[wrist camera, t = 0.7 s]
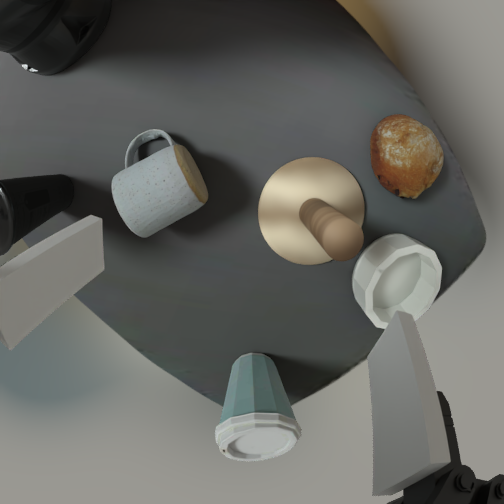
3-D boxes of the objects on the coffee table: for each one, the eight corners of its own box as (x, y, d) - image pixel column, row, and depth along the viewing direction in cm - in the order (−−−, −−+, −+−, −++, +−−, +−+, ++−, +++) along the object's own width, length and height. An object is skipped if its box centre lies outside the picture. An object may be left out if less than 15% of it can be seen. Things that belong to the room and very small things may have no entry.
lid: (246, 169, 31) (250, 178, 20) (354, 149, 30) (402, 153, 20) (270, 272, 35) (281, 322, 25) (366, 249, 35) (407, 288, 24)
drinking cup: (53, 153, 28) (-66, 178, 9) (90, 181, 30) (-31, 226, 11) (34, 201, 30) (-70, 250, 11) (69, 230, 32) (-33, 300, 13)
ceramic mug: (216, 196, 31) (208, 209, 24) (156, 227, 32) (134, 248, 25) (175, 116, 28) (155, 106, 21) (117, 152, 29) (85, 154, 22)
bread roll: (417, 144, 33) (451, 121, 25) (421, 210, 32) (461, 196, 24) (360, 122, 32) (389, 91, 24) (360, 192, 31) (397, 171, 23)
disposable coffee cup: (287, 338, 39) (306, 421, 25) (288, 386, 43) (302, 460, 29) (213, 345, 39) (205, 429, 25) (225, 391, 43) (222, 467, 29)
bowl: (348, 243, 34) (363, 258, 29) (423, 225, 34) (443, 236, 29) (353, 319, 38) (365, 339, 34) (420, 297, 38) (436, 314, 33)
